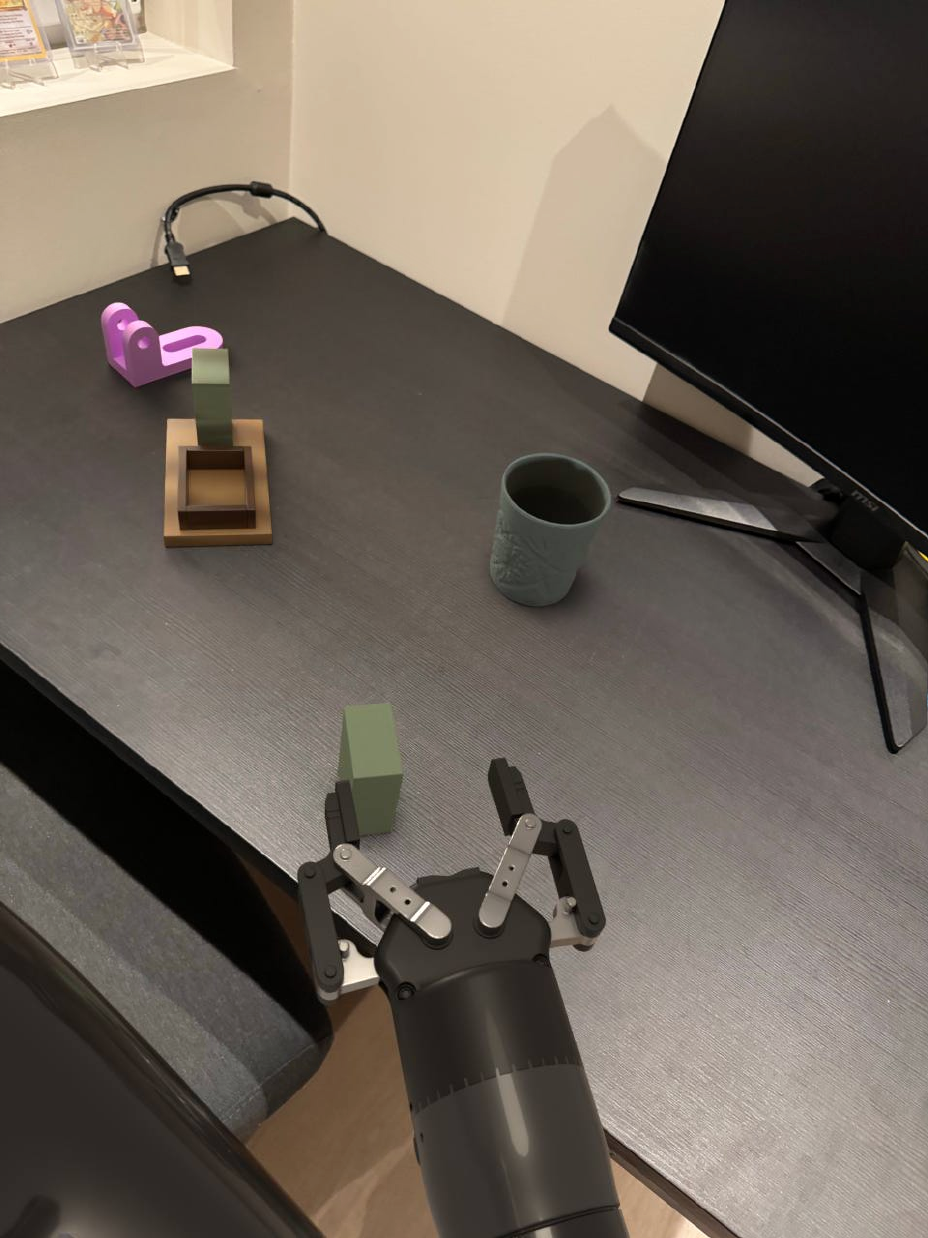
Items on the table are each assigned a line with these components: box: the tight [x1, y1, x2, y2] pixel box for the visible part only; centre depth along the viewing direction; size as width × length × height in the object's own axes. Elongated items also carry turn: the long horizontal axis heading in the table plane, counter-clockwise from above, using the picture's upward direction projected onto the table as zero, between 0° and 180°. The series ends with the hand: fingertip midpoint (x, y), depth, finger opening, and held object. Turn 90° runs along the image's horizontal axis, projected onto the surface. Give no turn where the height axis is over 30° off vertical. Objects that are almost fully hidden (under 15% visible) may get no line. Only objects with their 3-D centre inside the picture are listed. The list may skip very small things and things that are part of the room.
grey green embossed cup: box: [489, 452, 612, 607], centre depth 81 cm, size 10×10×12 cm
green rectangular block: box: [337, 702, 404, 837], centre depth 63 cm, size 6×4×9 cm, turn 12°
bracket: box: [100, 302, 224, 388], centre depth 97 cm, size 13×6×7 cm, turn 135°
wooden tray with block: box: [163, 348, 273, 548], centre depth 83 cm, size 18×10×10 cm, turn 12°
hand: (419, 776), depth 46 cm, fingers open, 8 cm apart
